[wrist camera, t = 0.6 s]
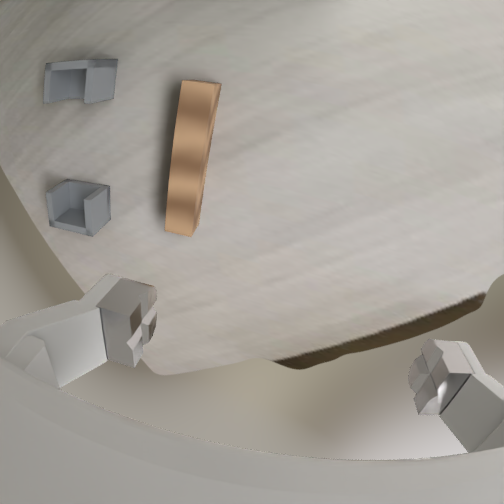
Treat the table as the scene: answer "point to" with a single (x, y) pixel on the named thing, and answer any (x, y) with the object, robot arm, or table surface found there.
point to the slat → (190, 154)
